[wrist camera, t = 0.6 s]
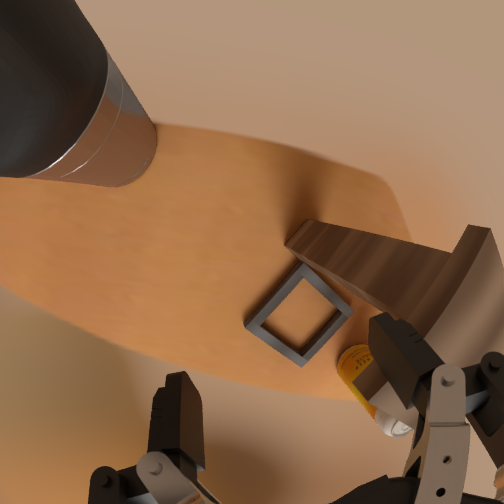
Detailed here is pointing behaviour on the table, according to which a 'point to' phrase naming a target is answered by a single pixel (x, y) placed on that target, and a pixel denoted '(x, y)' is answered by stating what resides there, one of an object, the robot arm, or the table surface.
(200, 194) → the table surface
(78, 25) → the robot arm
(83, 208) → the table surface
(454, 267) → the overhang bracket
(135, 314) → the table surface
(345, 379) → the beer can
